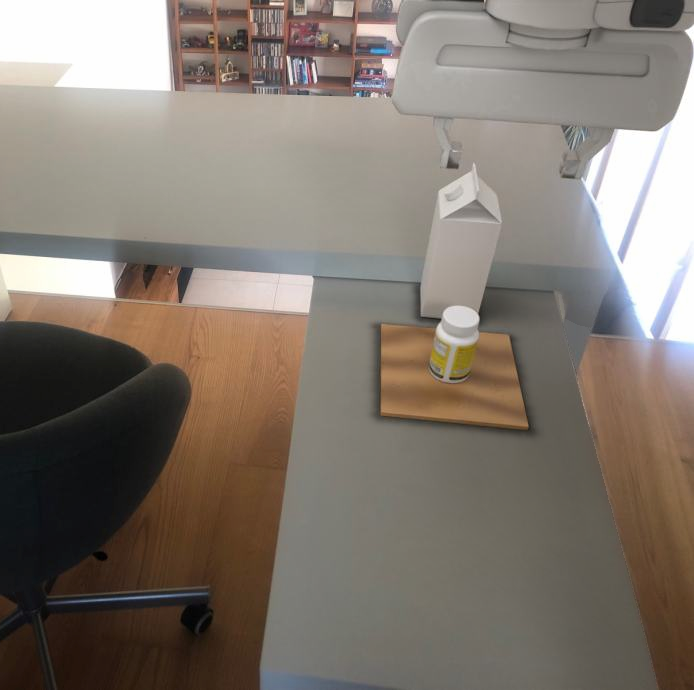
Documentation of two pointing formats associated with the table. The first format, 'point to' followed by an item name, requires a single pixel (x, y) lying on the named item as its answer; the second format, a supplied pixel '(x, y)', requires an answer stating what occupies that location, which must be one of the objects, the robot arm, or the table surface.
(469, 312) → the supplement bottle
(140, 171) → the table surface
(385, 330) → the wooden board
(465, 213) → the milk carton
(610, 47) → the robot arm
